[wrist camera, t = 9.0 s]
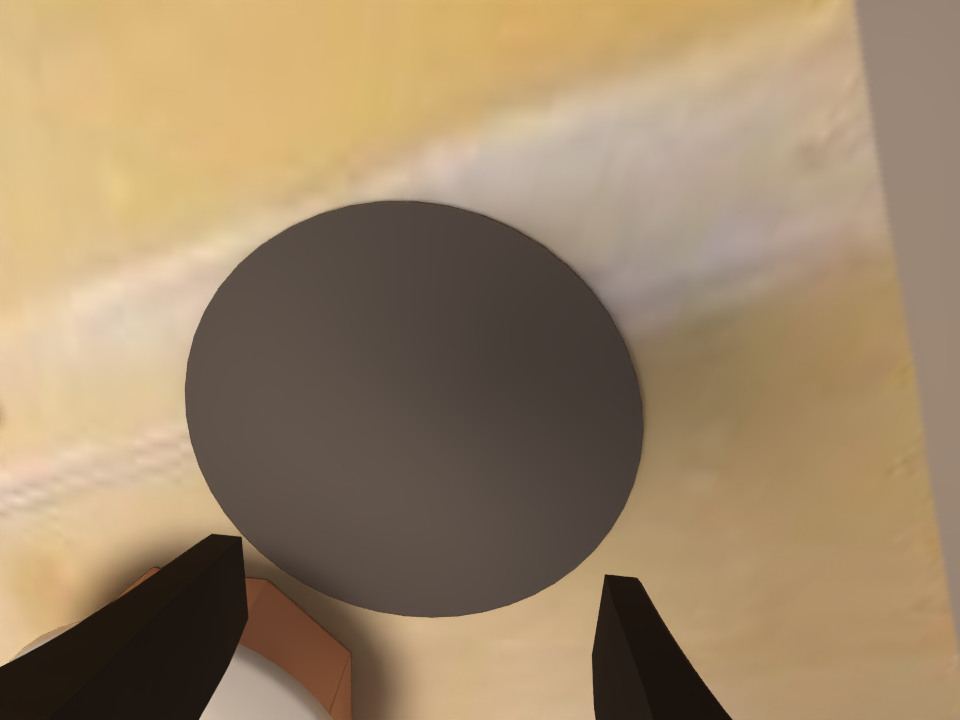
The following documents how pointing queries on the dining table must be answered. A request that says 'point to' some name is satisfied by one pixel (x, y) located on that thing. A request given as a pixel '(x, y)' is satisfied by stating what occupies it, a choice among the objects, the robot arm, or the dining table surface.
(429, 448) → the mat
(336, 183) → the dining table surface
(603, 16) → the dining table surface
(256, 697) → the lid
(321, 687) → the bowl
